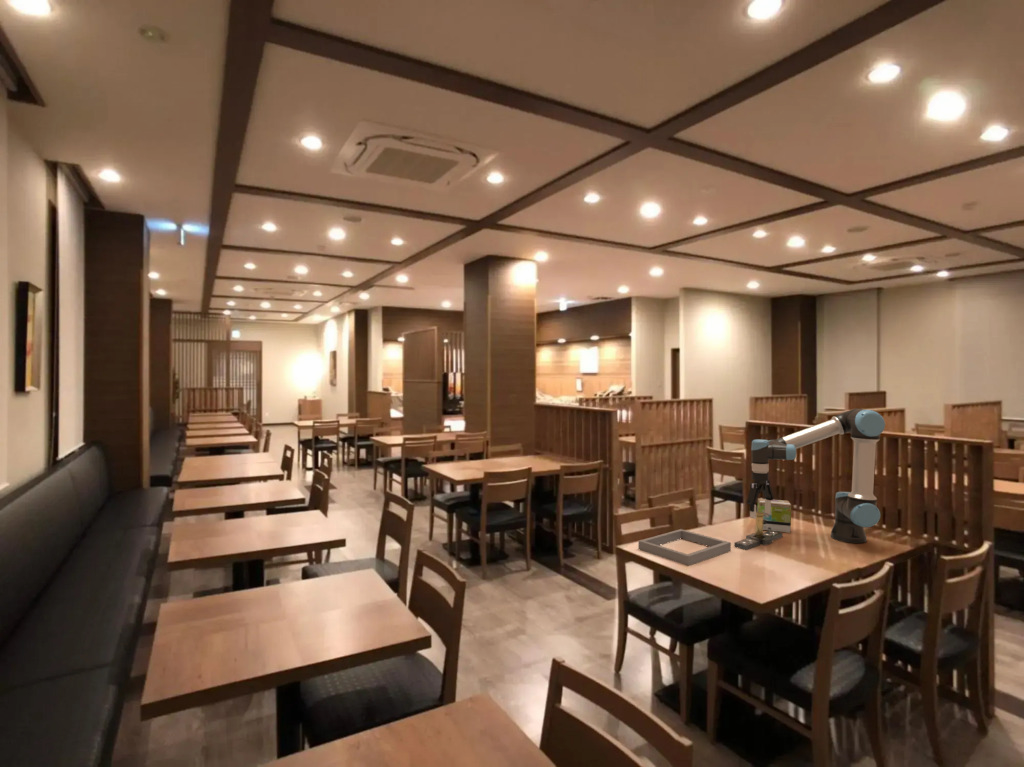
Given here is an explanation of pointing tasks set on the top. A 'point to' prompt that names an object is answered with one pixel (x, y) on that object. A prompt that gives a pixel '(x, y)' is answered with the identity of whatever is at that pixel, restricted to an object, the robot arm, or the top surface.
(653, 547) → the frame
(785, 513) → the tea box
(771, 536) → the chain ends
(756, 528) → the pin
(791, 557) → the top surface
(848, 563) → the top surface
